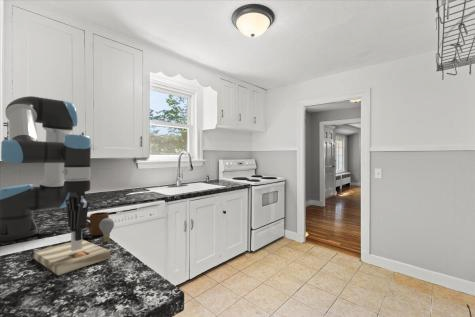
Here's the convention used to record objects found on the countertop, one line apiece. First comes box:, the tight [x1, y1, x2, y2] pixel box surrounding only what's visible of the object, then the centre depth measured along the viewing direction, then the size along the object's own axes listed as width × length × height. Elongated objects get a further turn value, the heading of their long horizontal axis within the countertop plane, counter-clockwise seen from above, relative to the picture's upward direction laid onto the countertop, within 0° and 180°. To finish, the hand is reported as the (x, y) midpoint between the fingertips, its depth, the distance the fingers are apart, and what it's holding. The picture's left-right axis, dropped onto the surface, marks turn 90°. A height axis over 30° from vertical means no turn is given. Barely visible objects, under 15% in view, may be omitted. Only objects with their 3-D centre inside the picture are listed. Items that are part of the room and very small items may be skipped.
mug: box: [86, 211, 109, 237], centre depth 106 cm, size 12×8×9 cm, turn 131°
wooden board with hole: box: [33, 238, 111, 276], centre depth 79 cm, size 22×15×2 cm
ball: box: [74, 252, 86, 259], centre depth 75 cm, size 3×3×3 cm
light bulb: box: [99, 218, 115, 243], centre depth 95 cm, size 5×6×10 cm
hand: (76, 249), depth 77 cm, fingers closed
